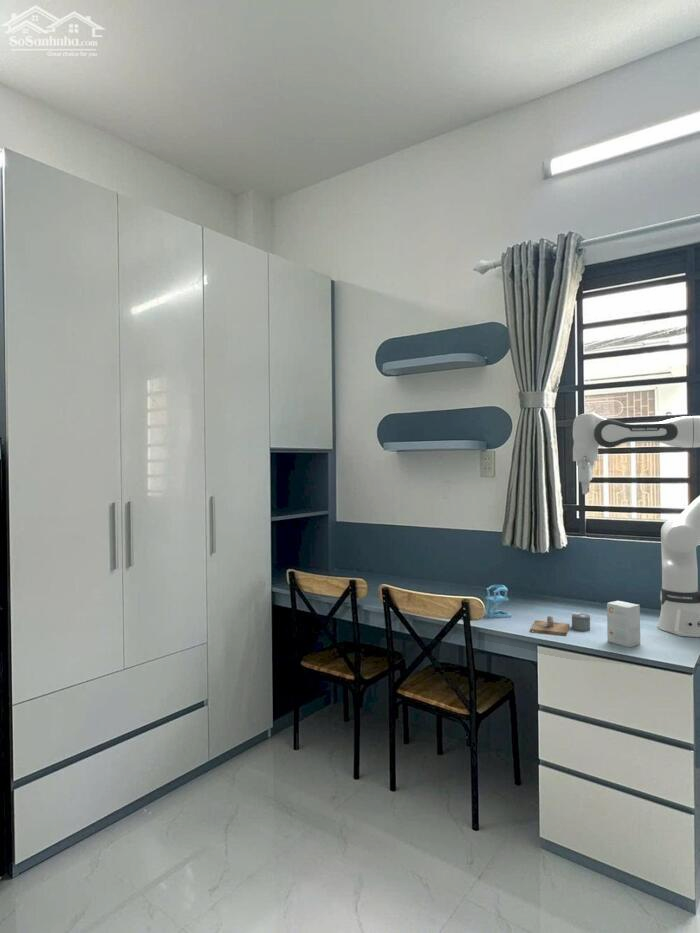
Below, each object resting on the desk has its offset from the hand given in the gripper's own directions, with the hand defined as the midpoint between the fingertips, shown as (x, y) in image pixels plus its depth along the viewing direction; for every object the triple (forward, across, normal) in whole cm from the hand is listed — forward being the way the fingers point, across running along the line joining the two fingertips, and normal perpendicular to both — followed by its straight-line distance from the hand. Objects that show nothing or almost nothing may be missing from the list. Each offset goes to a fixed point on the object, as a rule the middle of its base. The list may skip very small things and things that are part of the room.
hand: (585, 493), depth 221 cm
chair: (+48, -6, +32) cm, 58 cm away
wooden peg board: (+48, -17, +11) cm, 52 cm away
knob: (+48, -12, +1) cm, 49 cm away
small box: (+48, -24, -13) cm, 55 cm away
